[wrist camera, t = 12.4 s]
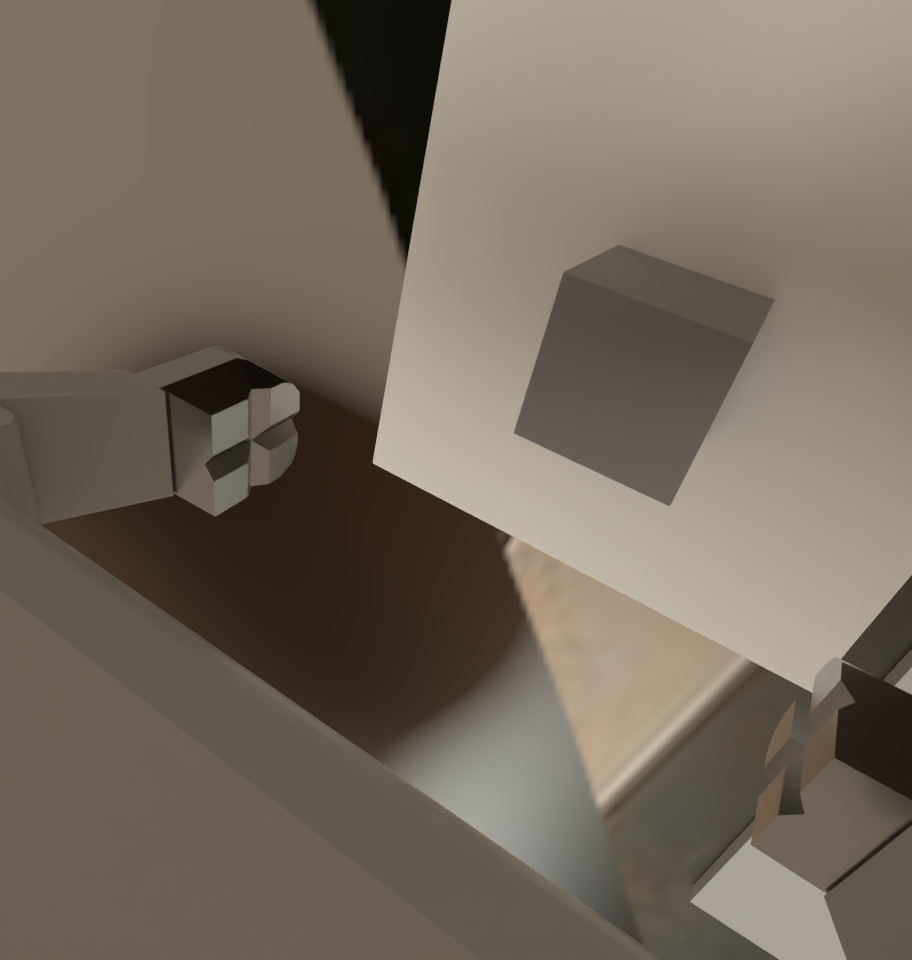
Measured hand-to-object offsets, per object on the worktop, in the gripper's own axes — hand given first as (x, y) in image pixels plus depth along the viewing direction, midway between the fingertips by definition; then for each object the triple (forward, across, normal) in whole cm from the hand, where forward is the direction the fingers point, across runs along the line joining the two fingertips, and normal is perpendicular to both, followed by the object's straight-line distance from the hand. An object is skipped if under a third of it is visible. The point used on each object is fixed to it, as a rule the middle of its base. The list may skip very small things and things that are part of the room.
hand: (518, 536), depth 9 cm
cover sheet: (+11, 0, 0) cm, 11 cm away
